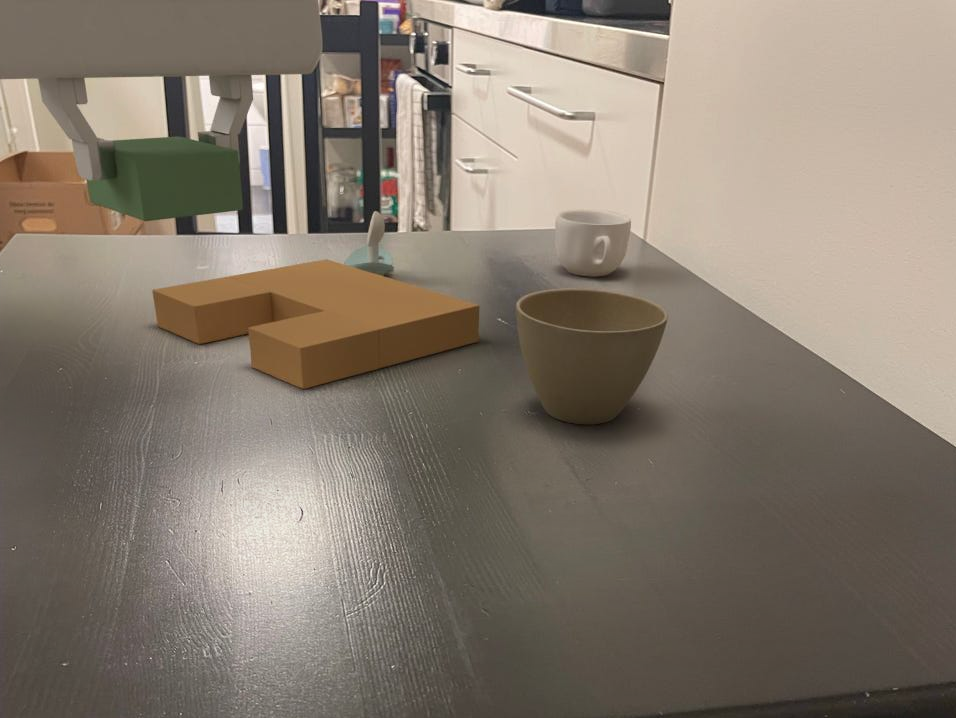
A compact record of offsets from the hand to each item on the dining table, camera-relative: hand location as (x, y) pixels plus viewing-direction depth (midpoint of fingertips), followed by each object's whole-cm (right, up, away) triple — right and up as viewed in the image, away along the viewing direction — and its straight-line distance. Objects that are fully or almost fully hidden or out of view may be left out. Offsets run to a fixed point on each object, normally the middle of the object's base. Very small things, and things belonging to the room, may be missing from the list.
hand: (161, 173), depth 52 cm
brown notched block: (+4, 0, +28) cm, 28 cm away
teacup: (+29, +13, +49) cm, 58 cm away
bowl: (+24, -10, +15) cm, 30 cm away
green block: (0, -1, +1) cm, 2 cm away
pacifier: (+6, +11, +44) cm, 46 cm away
